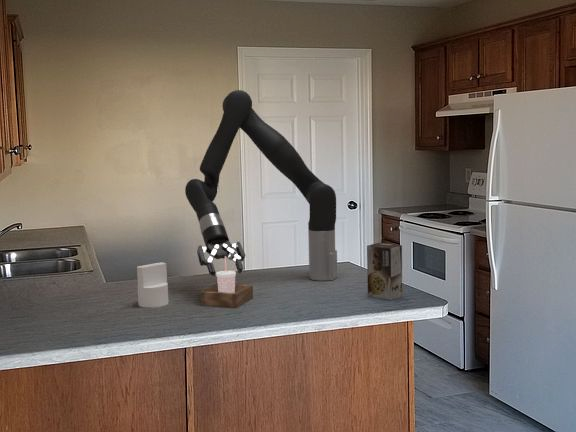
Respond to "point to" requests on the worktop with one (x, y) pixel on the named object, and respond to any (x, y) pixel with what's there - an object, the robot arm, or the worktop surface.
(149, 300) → the cylinder with rectangular tab
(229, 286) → the beverage cup
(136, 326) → the worktop surface
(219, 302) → the walnut collar
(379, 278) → the coffee box
